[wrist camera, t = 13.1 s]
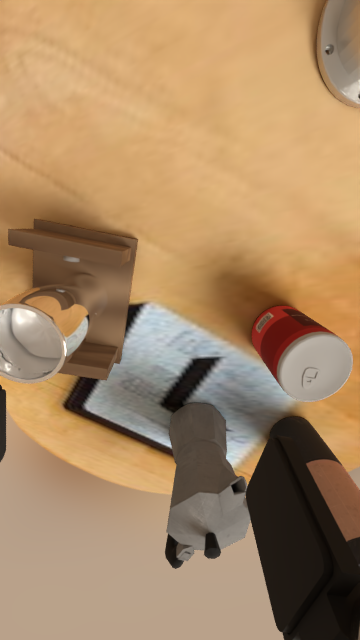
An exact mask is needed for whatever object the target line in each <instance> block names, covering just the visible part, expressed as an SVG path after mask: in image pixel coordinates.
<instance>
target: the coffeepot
mask: <svg viewBox="0 0 360 640" xmlns="http://www.w3.org/2000/svg"><path fill="white" fill-rule="evenodd" d="M169 436H170V441H171V445H172V450H173V455H174V460H175V463H176V465H177V466H176V471H175V478H174V485H173V491H172V498H171V506H170V513H169V519H168V526H167V533H168V538H167V543H166V549H165V555H166V558H167V560H168V561H169V563H170V564H171V566H172V567H173V568H175V569H176V568H179V567H180V566H181V565H182V564H183V562H184V560H186V561H188V560H189V559H190V558H191V556H192V555H193V554H194V550H205V551H204V555H205V556H206V557H207V558H211V559H215V558H217V557H219V556H220V553H221V551H220V550H221V549H223V548H225V547H227V546H229V545H231V544H233V543H235V542H237V541H239V540H241V539H243V538H245V535H246V532H247V529H248V526H249V523H250V520H251V519H250V514H249V510H248V506H247V502H246V498H245V495H246V489H247V483H246V480H245V478H244V477H242V476H239V477H237V476H236V475H235V473H234V471H233V468H232V466H231V464H230V463H229V462H228V461H227V460H226V453H227V446H226V420H225V419H224V418H223V417H222V415H221V414H220V412H219V411H218V410H217V409H216V408H215V407H214V406H213V405H209V404H204V403H189V404H187V405H185V406H183V407H181V408H180V409H179V410H177V411H176V412H175V413H174V414H172V417H171V422H170V429H169Z"/></svg>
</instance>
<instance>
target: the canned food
mask: <svg viewBox="0 0 360 640" xmlns="http://www.w3.org/2000/svg"><path fill="white" fill-rule="evenodd" d="M252 342H253V345H254V348H255V349H256V351H257V352H258V354H259V355H260V357H261V358H262V360H263V361H264V363H265V364H266V366H267V367H268V369H269V370H270V372H271V373H272V375H273V376H274V378H275V379H276V381H277V382H278V383H279V385H280V386H281V387H282V389H283V390H284V391H285V392H286V393H287V394H288V395H289V396H291V397H292V398H294V399H296V400H299V401H304V402H313V401H319V400H322V399H325V398H327V397H329V396H331V395H332V394H334V393H335V392H337V391H338V390H339V389H340V388H341V387H342V386H343V385H344V384H345V382H346V381H347V379H348V377H349V376H350V373H351V370H352V365H353V358H352V353H351V350H350V348H349V347H348V345H347V344H346V343H345V342H344V341H343V340H342V339H341V338H340V337H338V336H337V335H335V334H334V333H333V332H331V331H329V330H328V329H326V328H325V327H323V326H322V325H320V324H319V323H317V322H315V321H314V320H312V319H311V318H309V317H308V316H306V315H305V314H303V313H301V312H300V311H298V310H297V309H295V308H293V307H289V306H275V307H272V308H269V309H267V310H265V311H264V312H263V313H262V314H260V316H259V317H258V318H257V319H256V321H255V323H254V325H253V328H252Z"/></svg>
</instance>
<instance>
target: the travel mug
mask: <svg viewBox="0 0 360 640" xmlns="http://www.w3.org/2000/svg"><path fill="white" fill-rule="evenodd" d="M275 435H279V436H284V437H290V438H292V439H293V440H294V442H295V444H296V446H297V447H298V449H299V451H300V453H301V455H302V457H303V459H304V461H305V463H306V465H307V467H308V469H309V470H310V472H311V474H312V476H313V478H314V480H315V482H316V484H317V486H318V488H319V490H320V492H321V494H322V495H323V497H324V499H325V501H326V503H327V505H328V507H329V509H330V511H331V513H332V515H333V517H334V518H335V520H336V522H337V524H338V526H339V528H340V530H341V532H342V534H343V536H344V538H345V540H346V542H347V543H348V545H349V547H350V549H351V551H352V553H353V555H354V557H355V559H356V561H357V563H358V565H359V566H360V490H359V488H358V487H357V485H356V484H355V483H354V481H353V480H352V479H351V477H350V475H349V474H348V473H347V471H346V470H345V468H344V467H343V466H342V464H341V463H340V462H339V460H338V459H337V458H336V456H335V455H334V454H333V453H332V451H331V450H330V449H329V447H328V446H327V445H326V443H325V442H324V441H323V439H322V438H321V437H320V435H319V434H318V433H317V431H316V430H315V429H314V428H313V426H312V425H311V424H310V423H309V422H308V421H307V420H305V419H304V418H301V417H287V418H284V419H282V420H280V421H279V422H277V423H276V424H275V425H274V426H273V428H272V430H271V432H270V438H273V437H274V436H275Z"/></svg>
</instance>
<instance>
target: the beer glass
mask: <svg viewBox="0 0 360 640" xmlns="http://www.w3.org/2000/svg"><path fill="white" fill-rule="evenodd" d="M107 304H108V295H107V291H106V289H105V287H104V285H103V284H102V283H101V282H100V281H99V280H98V279H97V278H95V277H93V276H91V275H88V274H75V275H72V276H70V277H68V278H67V279H66V280H65V281H64V282H63V283H62V284H53V285H45V286H40V287H36V288H33V289H30V290H27V291H25V292H23V293H20V294H18V295H16V296H14V297H13V298H11V299H9V300H8V301H6V302H4V303H3V304H1V305H0V375H1V376H3V377H5V378H7V379H9V380H12V381H15V382H19V383H38V382H42V381H45V380H48V379H50V378H51V377H53V376H54V375H55V374H56V373H58V371H59V370H60V369H61V368H62V367H63V366H64V365H65V364H66V363H67V362H68V361H69V360H70V359H71V358H72V357H73V356H74V355H75V354H76V353H77V351H78V350H79V349H80V348H81V346H82V345H83V343H84V342H85V340H86V339H87V336H88V334H89V332H90V329H91V326H92V323H93V320H94V319H96V318H98V317H99V316H100V315H101V314H102V313H103V312H104V311H105V309H106V307H107Z"/></svg>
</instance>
